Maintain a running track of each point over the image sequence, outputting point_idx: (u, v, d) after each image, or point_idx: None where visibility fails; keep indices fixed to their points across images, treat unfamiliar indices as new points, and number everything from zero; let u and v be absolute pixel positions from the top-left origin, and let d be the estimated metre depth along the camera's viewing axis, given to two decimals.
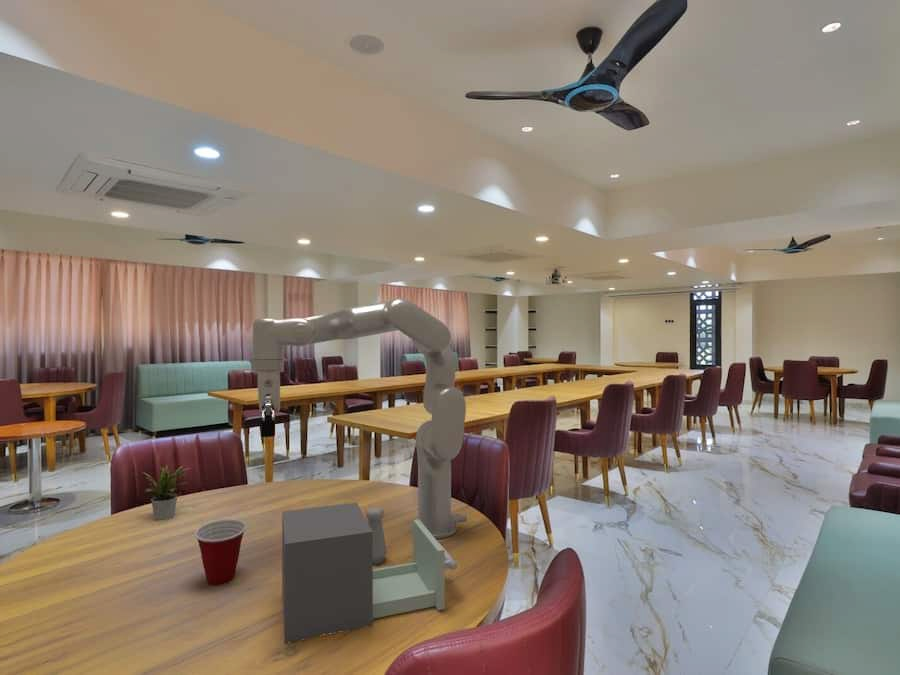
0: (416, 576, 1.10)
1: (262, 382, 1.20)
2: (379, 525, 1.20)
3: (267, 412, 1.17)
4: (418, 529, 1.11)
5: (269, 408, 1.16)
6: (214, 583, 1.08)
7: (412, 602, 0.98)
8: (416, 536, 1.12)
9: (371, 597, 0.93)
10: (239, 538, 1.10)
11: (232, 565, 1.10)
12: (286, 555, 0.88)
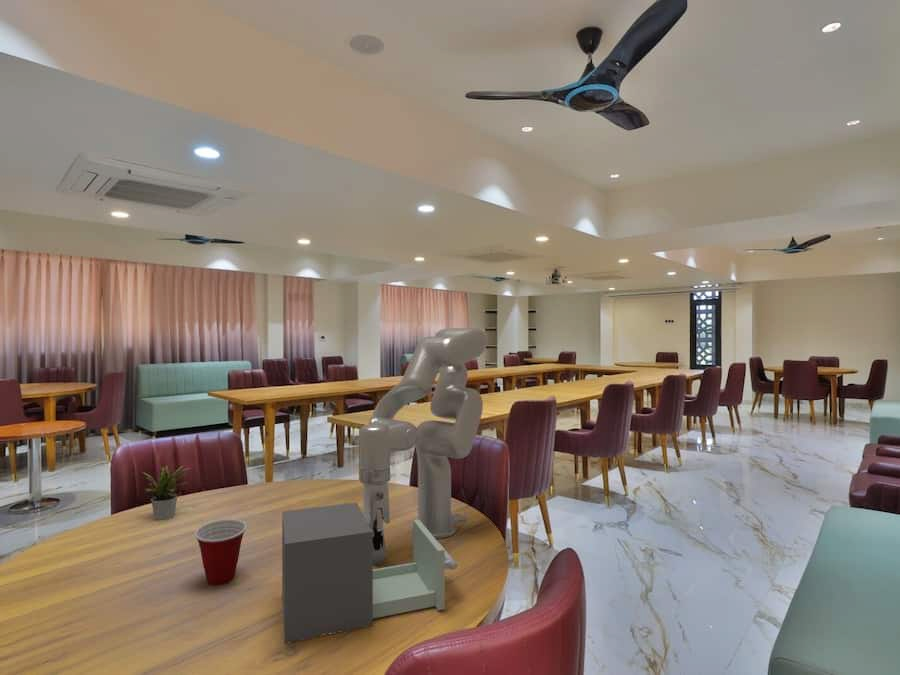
0: (416, 576, 1.10)
1: (373, 495, 1.16)
2: None
3: (378, 532, 1.16)
4: (418, 529, 1.11)
5: (381, 531, 1.15)
6: (214, 583, 1.08)
7: (412, 602, 0.98)
8: (416, 536, 1.12)
9: (371, 597, 0.93)
10: (239, 538, 1.10)
11: (232, 565, 1.10)
12: (286, 555, 0.88)
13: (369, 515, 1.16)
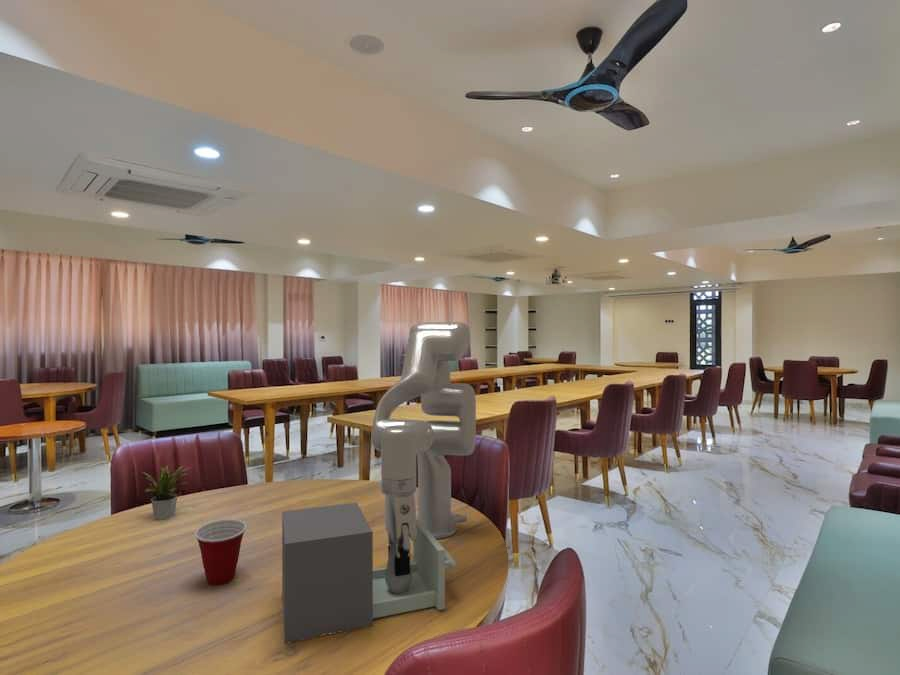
0: (416, 576, 1.10)
1: (398, 509, 1.00)
2: None
3: (405, 552, 0.99)
4: (418, 529, 1.11)
5: (408, 549, 0.98)
6: (214, 583, 1.08)
7: (412, 602, 0.98)
8: None
9: (371, 597, 0.93)
10: (239, 538, 1.10)
11: (232, 565, 1.10)
12: (286, 555, 0.88)
13: (393, 531, 1.00)
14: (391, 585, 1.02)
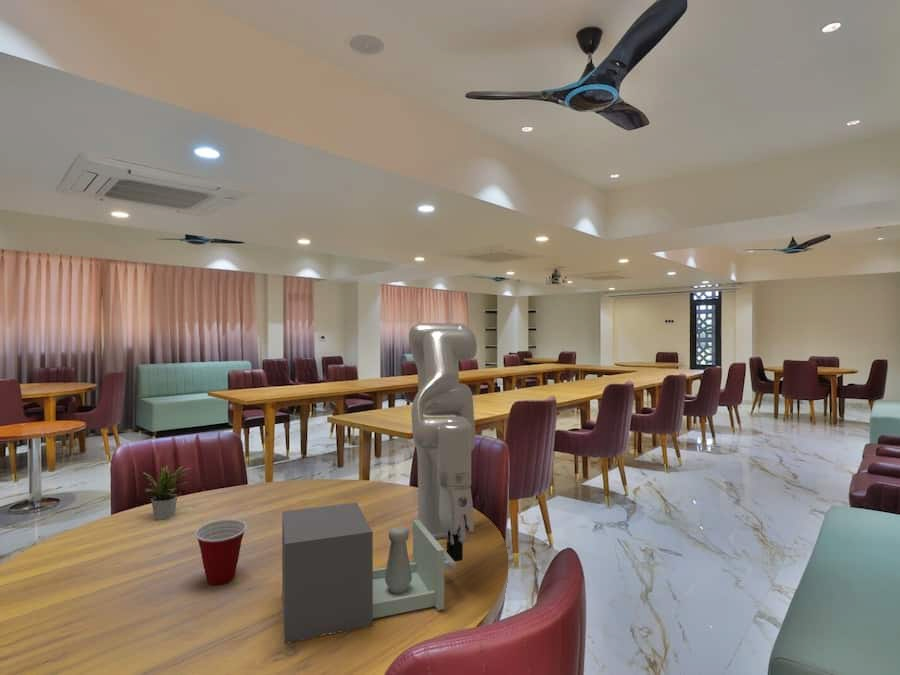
0: (415, 576, 1.10)
1: (456, 501, 1.04)
2: (404, 548, 1.03)
3: (459, 540, 1.05)
4: (418, 529, 1.11)
5: (463, 540, 1.05)
6: (214, 583, 1.08)
7: (412, 602, 0.98)
8: (416, 536, 1.12)
9: (371, 597, 0.93)
10: (239, 538, 1.10)
11: (232, 565, 1.10)
12: (286, 555, 0.88)
13: (452, 523, 1.04)
14: (391, 585, 1.02)
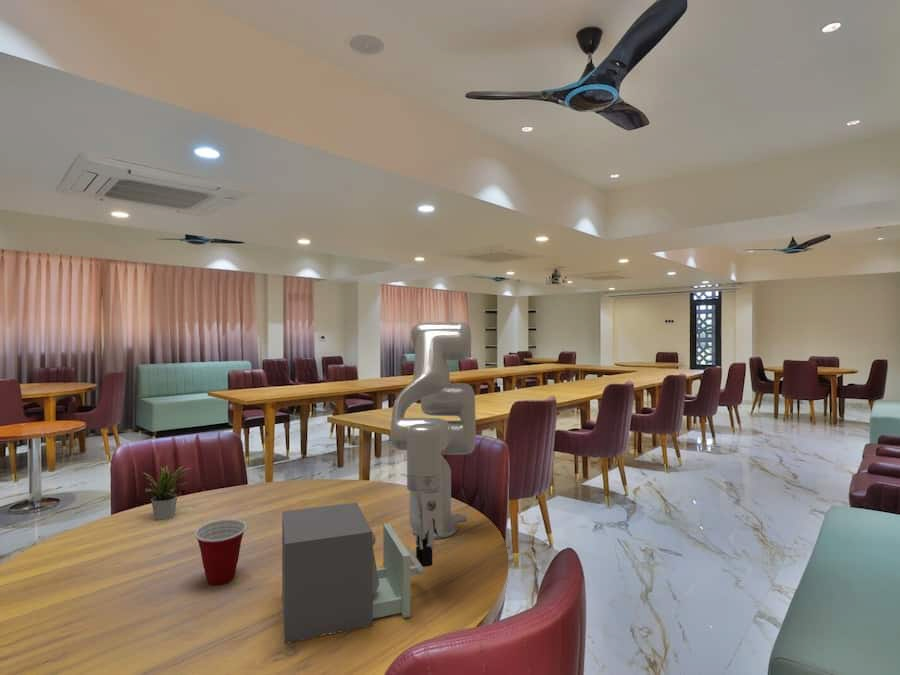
0: (384, 581, 1.07)
1: (424, 505, 1.01)
2: None
3: None
4: (387, 533, 1.08)
5: (432, 545, 1.02)
6: (214, 583, 1.08)
7: (377, 609, 0.95)
8: (385, 541, 1.10)
9: (371, 597, 0.93)
10: (239, 538, 1.10)
11: (232, 565, 1.10)
12: (286, 555, 0.88)
13: (420, 527, 1.02)
14: None
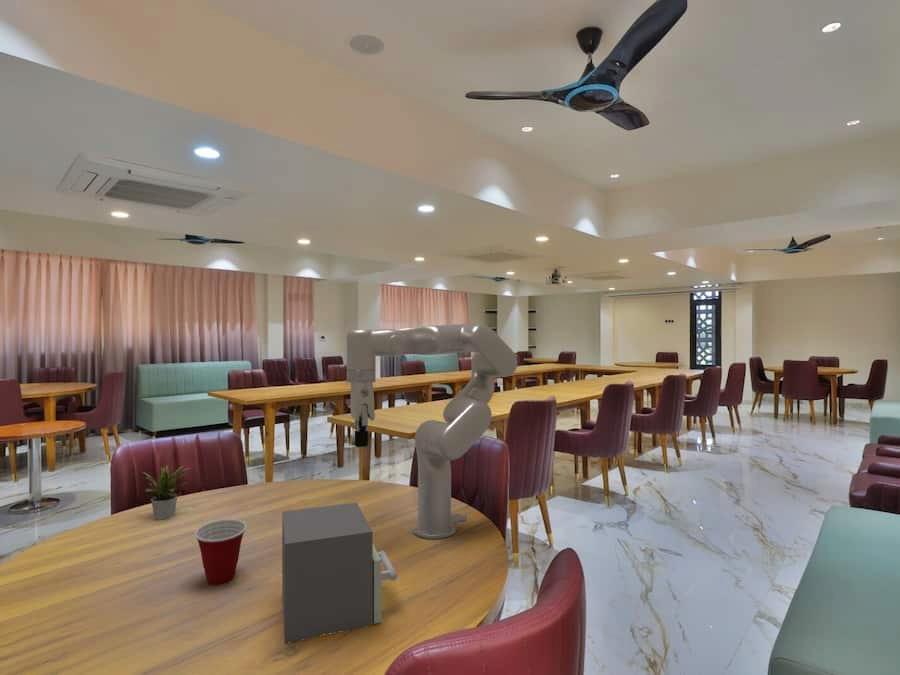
0: None
1: (359, 392, 1.23)
2: None
3: (362, 426, 1.24)
4: None
5: (365, 426, 1.23)
6: (214, 583, 1.08)
7: None
8: None
9: (371, 597, 0.93)
10: (239, 538, 1.10)
11: (232, 565, 1.10)
12: (286, 555, 0.88)
13: (355, 411, 1.23)
14: None
